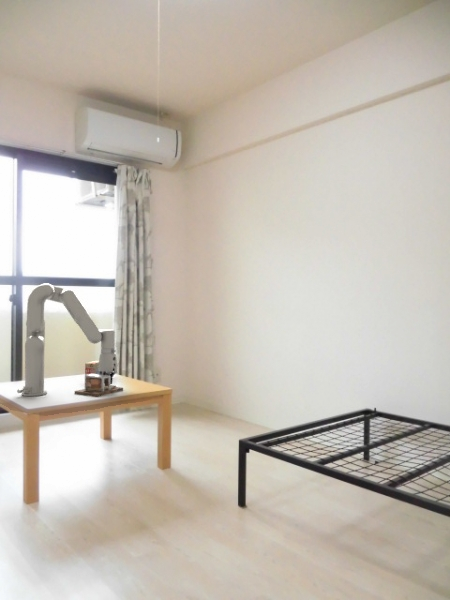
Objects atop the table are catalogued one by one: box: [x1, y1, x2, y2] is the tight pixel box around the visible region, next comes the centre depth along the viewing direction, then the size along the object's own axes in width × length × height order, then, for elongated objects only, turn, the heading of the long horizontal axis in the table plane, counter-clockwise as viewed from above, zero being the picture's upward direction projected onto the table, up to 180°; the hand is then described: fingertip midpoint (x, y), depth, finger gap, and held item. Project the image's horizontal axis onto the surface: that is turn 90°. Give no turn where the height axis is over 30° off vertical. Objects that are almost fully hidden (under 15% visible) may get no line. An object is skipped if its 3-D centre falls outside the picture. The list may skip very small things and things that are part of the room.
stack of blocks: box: [84, 360, 108, 376], centre depth 300 cm, size 21×6×12 cm, turn 166°
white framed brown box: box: [87, 373, 117, 391], centre depth 264 cm, size 13×9×8 cm
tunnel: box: [84, 374, 111, 392], centre depth 260 cm, size 6×13×8 cm, turn 63°
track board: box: [74, 386, 124, 398], centre depth 262 cm, size 21×16×2 cm
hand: (107, 383), depth 268 cm, fingers closed on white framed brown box, 3 cm apart
